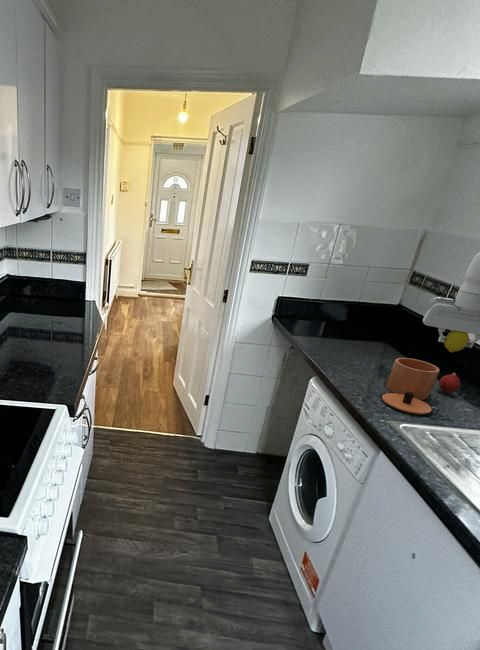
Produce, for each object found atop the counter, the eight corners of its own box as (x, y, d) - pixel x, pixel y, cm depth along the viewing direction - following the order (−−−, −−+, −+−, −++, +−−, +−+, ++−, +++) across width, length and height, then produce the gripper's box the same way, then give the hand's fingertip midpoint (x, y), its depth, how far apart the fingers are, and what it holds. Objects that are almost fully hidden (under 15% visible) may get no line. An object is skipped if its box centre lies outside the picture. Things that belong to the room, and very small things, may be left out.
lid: (428, 403, 140) (433, 391, 138) (432, 420, 129) (438, 407, 128) (381, 392, 147) (385, 380, 145) (381, 407, 136) (386, 394, 134)
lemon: (445, 353, 131) (456, 330, 127) (436, 347, 136) (447, 324, 132) (465, 356, 130) (477, 333, 126) (455, 350, 135) (467, 327, 131)
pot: (426, 390, 151) (437, 363, 146) (429, 403, 141) (441, 375, 136) (385, 380, 156) (395, 355, 152) (386, 392, 147) (396, 365, 142)
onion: (437, 387, 153) (447, 368, 149) (456, 394, 149) (466, 374, 146) (433, 391, 149) (442, 371, 146) (452, 398, 145) (462, 378, 142)
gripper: (432, 297, 128) (416, 339, 134) (519, 310, 119) (497, 355, 124) (430, 294, 133) (414, 334, 139) (514, 306, 124) (493, 349, 129)
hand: (454, 344), depth 132 cm, fingers closed on lemon, 5 cm apart
